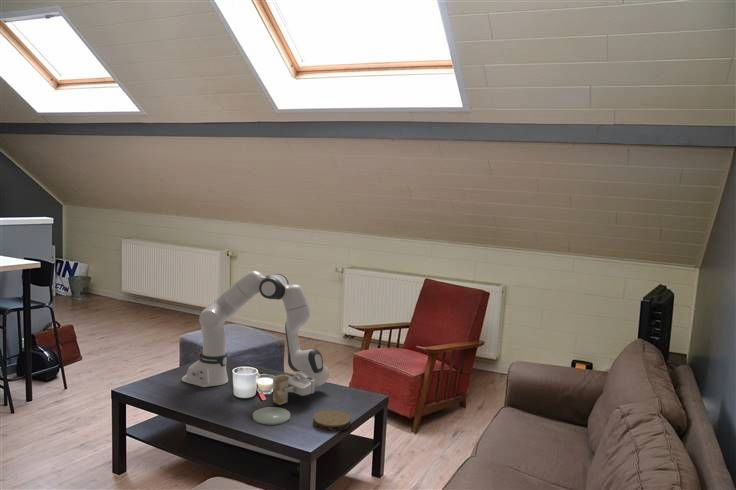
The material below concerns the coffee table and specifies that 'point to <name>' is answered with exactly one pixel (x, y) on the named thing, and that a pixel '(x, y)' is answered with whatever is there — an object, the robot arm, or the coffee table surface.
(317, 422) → the brown round disc
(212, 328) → the robot arm
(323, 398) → the coffee table surface
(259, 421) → the dish
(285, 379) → the birch block
